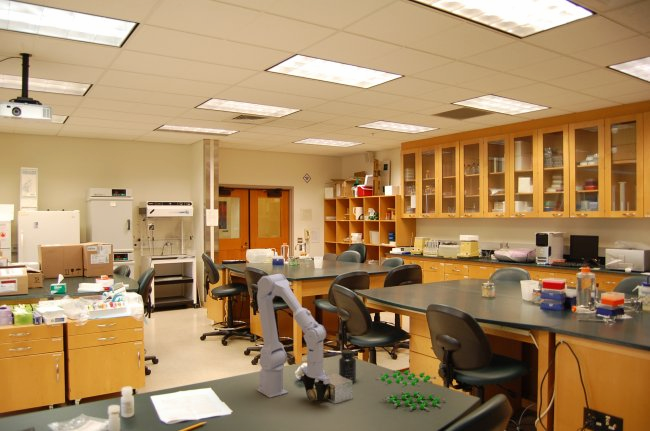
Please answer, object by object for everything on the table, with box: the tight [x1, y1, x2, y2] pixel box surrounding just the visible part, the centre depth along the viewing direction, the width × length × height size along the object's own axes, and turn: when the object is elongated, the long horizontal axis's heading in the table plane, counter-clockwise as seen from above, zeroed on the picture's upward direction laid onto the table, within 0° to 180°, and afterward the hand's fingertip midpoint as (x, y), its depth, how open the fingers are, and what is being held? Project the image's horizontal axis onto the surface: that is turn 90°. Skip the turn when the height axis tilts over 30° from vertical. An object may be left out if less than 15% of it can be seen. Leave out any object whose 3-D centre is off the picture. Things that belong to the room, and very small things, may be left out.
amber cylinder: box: [306, 386, 331, 403], centre depth 176 cm, size 4×11×4 cm, turn 127°
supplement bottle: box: [338, 349, 357, 384], centre depth 196 cm, size 7×7×12 cm
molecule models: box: [375, 369, 446, 412], centre depth 175 cm, size 17×25×10 cm, turn 92°
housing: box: [317, 373, 353, 404], centre depth 179 cm, size 10×8×6 cm
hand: (315, 398), depth 174 cm, fingers open, 6 cm apart
